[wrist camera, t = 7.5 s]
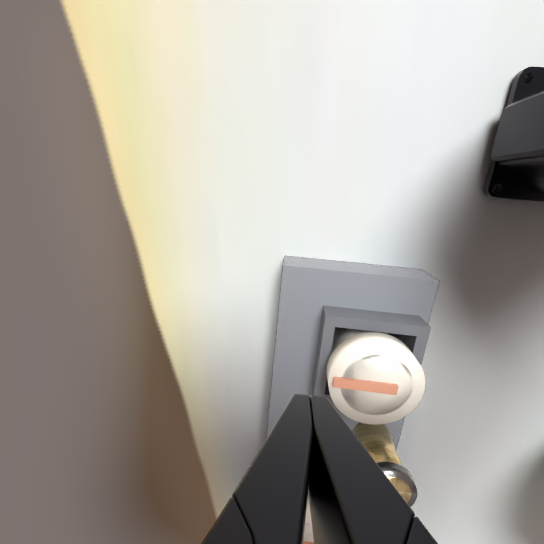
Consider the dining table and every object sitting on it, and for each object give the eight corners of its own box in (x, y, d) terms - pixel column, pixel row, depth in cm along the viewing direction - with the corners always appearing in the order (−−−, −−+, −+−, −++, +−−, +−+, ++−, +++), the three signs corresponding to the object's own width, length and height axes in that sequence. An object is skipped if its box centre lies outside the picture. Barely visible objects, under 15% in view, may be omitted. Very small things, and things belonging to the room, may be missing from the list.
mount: (421, 269, 19) (452, 289, 15) (365, 509, 25) (377, 567, 21) (284, 255, 19) (281, 272, 16) (261, 493, 25) (255, 548, 21)
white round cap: (398, 306, 20) (437, 351, 14) (384, 369, 21) (415, 433, 15) (325, 298, 20) (336, 340, 14) (316, 360, 21) (323, 421, 16)
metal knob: (397, 418, 19) (422, 476, 15) (389, 454, 20) (410, 517, 16) (351, 412, 19) (364, 468, 16) (344, 448, 20) (355, 510, 16)
